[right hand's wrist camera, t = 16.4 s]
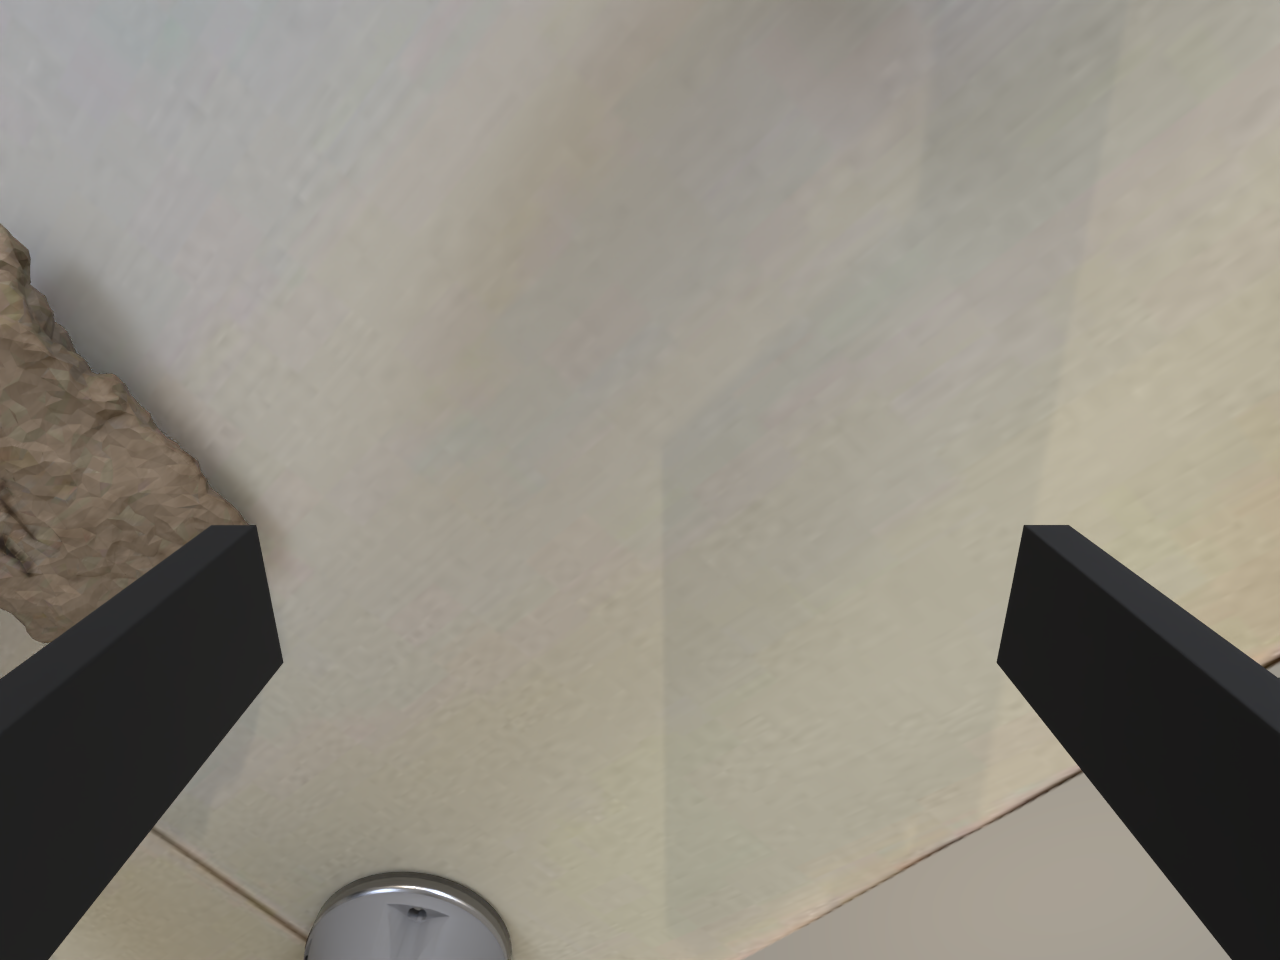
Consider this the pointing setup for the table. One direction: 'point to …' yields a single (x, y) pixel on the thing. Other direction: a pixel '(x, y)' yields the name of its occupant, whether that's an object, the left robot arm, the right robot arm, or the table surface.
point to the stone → (80, 471)
